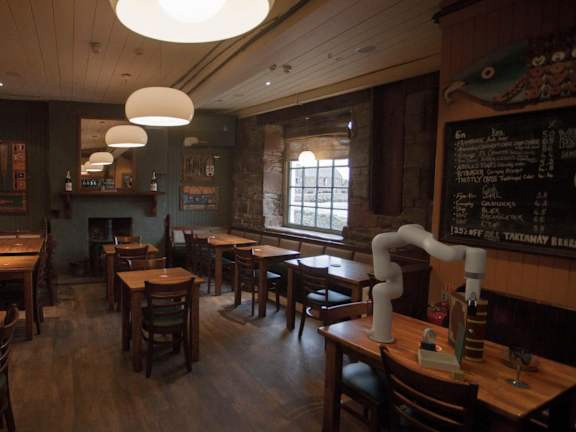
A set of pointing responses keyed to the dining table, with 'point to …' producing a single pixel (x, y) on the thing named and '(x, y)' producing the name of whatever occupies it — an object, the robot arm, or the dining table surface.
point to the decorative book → (467, 325)
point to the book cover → (461, 341)
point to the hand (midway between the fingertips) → (472, 312)
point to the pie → (505, 358)
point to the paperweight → (458, 375)
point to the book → (437, 360)
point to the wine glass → (519, 363)
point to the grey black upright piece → (429, 344)
